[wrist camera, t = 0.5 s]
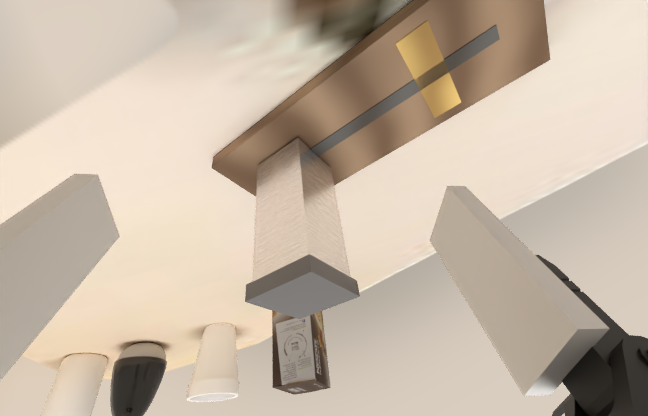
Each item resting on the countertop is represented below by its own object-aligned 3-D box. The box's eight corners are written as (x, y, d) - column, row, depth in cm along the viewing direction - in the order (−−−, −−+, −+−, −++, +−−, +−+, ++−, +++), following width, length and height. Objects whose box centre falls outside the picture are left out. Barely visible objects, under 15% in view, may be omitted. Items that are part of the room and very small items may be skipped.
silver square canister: (292, 194, 32) (299, 319, 24) (252, 165, 28) (245, 301, 20) (335, 168, 30) (359, 296, 21) (298, 133, 26) (311, 271, 18)
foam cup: (232, 336, 71) (227, 401, 63) (191, 333, 66) (180, 402, 58) (249, 323, 65) (246, 392, 57) (206, 318, 61) (196, 393, 52)
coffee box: (270, 277, 50) (270, 388, 40) (307, 269, 49) (316, 380, 39) (289, 297, 57) (293, 395, 47) (321, 290, 56) (332, 389, 46)
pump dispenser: (171, 338, 68) (155, 420, 58) (168, 351, 75) (154, 426, 65) (118, 338, 64) (91, 426, 54) (121, 351, 71) (97, 431, 61)
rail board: (283, 204, 36) (283, 215, 35) (213, 157, 29) (211, 168, 28) (539, 51, 24) (550, 60, 23) (520, -85, 18) (535, -80, 17)
